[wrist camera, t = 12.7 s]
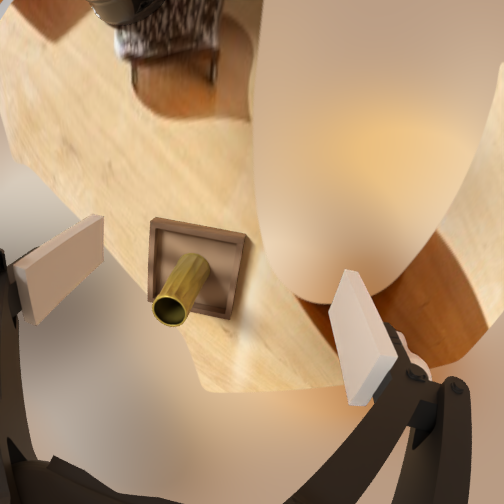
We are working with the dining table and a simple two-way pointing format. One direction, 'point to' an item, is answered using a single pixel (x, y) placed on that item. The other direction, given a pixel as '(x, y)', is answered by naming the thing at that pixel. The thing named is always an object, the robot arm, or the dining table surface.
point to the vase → (181, 290)
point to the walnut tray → (209, 247)
